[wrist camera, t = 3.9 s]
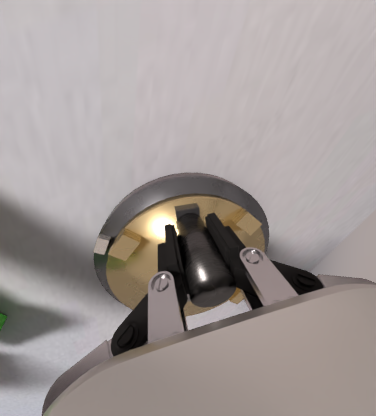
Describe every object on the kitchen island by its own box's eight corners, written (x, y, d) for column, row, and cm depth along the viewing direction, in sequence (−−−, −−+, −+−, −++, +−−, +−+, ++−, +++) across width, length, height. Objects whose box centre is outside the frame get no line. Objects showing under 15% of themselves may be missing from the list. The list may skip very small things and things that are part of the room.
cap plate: (205, 125, 13) (215, 123, 11) (279, 246, 23) (293, 258, 21) (58, 256, 16) (42, 276, 14) (178, 315, 26) (180, 332, 24)
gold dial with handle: (178, 152, 12) (212, 179, 5) (283, 242, 19) (361, 308, 12) (78, 287, 16) (12, 414, 9) (196, 318, 24) (214, 401, 16)
